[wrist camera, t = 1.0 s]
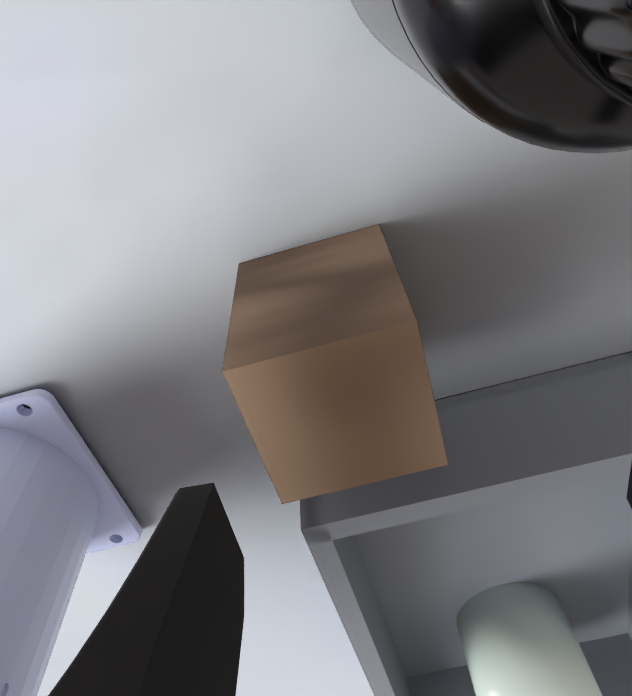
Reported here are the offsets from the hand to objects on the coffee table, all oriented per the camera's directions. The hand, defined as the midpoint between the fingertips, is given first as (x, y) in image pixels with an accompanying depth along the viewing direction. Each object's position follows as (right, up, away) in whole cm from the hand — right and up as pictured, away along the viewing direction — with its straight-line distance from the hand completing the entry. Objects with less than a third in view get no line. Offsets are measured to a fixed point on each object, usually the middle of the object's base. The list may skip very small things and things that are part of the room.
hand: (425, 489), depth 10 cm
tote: (+6, -6, +16) cm, 18 cm away
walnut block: (-2, +4, +9) cm, 10 cm away
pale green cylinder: (+7, -10, +18) cm, 22 cm away
